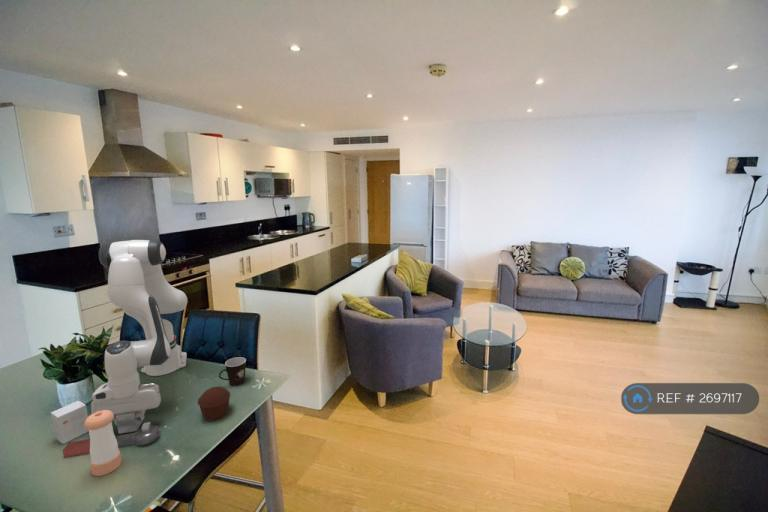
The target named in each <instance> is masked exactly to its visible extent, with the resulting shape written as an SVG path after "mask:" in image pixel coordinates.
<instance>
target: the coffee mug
mask: <svg viewBox="0 0 768 512" xmlns="http://www.w3.org/2000/svg"><path fill="white" fill-rule="evenodd" d="M224 365H225V369H222V370H221V371H219V374H218V377H219V379H221V380H224V381H228V384H229V386H231V387H236V386H237V387H238V386H240V385H243V384H244V383H245V381H246V370H247V369H246V365H247V359H246V358H245V357H240V356H239V357H237V356H236V357H232V358H229V359H227V360H226V361H225V363H224ZM223 372H226V373H227V374H226V375H227V378H223V377H222V376H221V375H222V373H223Z"/></svg>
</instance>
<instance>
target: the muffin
mask: <svg viewBox="0 0 768 512" xmlns="http://www.w3.org/2000/svg"><path fill="white" fill-rule="evenodd" d="M230 397H231V392H230V391H229V390H228V389H227V388H226V387H223V386H218V385H217V386H212V387H210V388H208V389H207V390H205V391H204V392H203V393H202V394H201V396H200V397H199V399H198V400H197V405H198V406H199V409H200V412H201V415H202V418H203V419H205V421H216V420H219V419H222V418H223V417H224V416H225V415H227V414H228V410H229V405H230Z"/></svg>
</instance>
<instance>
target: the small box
mask: <svg viewBox="0 0 768 512" xmlns="http://www.w3.org/2000/svg"><path fill="white" fill-rule="evenodd" d="M87 409H88V408H87V405H86V404H85V403H83V402H82V401H80V400H76V401H74V402H72V403H70V404H67V405H65V406H63V407H60V408H58V409H56V410H54V411H51V412H50V416H51V422H52V426H53V427H52V428H53V432H54V436H55V437H54V438H55V440H56V441H58V442H59V443H61V444H62V445H64V444H66V443H67V444H68V443H69V442H70V441H71V442H72V440H74V439H77V438H78V437H80V436H82V435H85V434H86V433H89V430H88V429H86V428H85V427H84V422H85V420H86V419H87V417H89V414H88V410H87Z"/></svg>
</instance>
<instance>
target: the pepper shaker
mask: <svg viewBox="0 0 768 512" xmlns="http://www.w3.org/2000/svg"><path fill="white" fill-rule="evenodd" d="M113 418H114V414H113V412H111V411H109V410H102V411H97V412H95V413H93V414H92V413H91V414H90V415H88V417H87V419H86V420H85V422H84V427H85V428H86V429H88V430H89V431H88V434H89V439H90V453H89V455H90V462H89V463H90V469H91V474H92V475H93V476H96V477H100V476H104V475H107V474H110V473H112V472H113V471H115V470H117V469H118V468H119V467H120V466H121V464H122V462H123V461H122V455H121V451H120V449H119V448H118V443H117V440H116V438H115V436H116V435H115V433H114V428H113V421H114V420H113Z"/></svg>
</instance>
